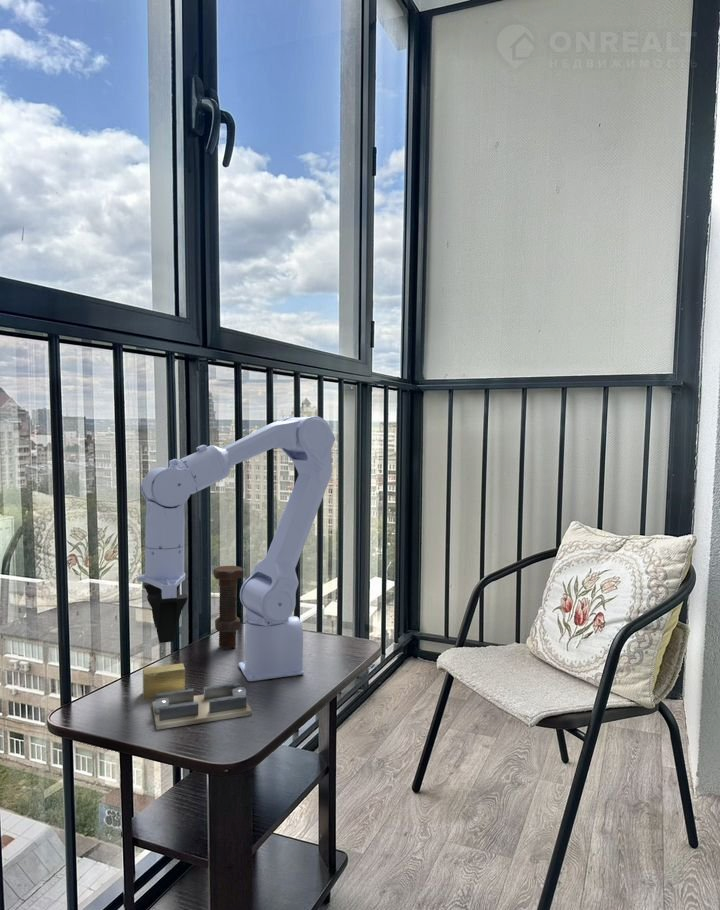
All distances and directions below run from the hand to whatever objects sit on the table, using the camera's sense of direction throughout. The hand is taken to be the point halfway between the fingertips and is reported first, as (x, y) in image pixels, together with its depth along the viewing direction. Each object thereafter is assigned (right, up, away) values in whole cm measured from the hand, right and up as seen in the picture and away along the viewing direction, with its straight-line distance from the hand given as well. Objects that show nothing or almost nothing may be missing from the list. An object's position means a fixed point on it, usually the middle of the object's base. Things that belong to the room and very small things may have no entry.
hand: (164, 633), depth 95 cm
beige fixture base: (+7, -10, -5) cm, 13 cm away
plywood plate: (+7, -10, -5) cm, 13 cm away
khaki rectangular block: (0, -9, 0) cm, 9 cm away
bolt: (+5, -9, +21) cm, 24 cm away
